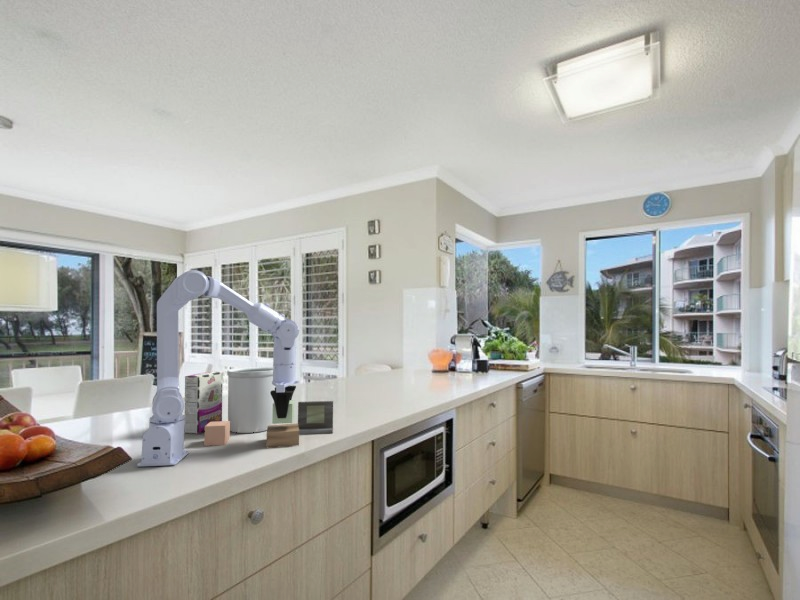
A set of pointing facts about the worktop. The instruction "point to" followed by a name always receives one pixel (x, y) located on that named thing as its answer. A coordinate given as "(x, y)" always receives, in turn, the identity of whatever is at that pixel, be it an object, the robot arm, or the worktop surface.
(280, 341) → the robot arm
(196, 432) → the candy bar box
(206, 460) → the worktop surface
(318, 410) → the dark grey box
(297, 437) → the walnut base block
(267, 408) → the utensil holder
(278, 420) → the sage cube
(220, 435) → the terracotta cube
